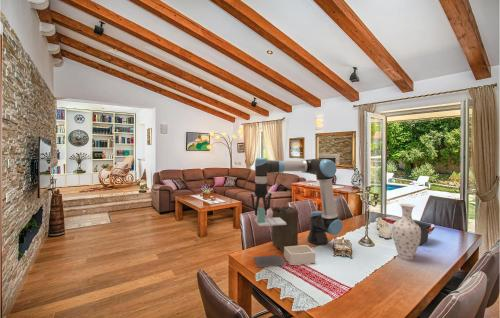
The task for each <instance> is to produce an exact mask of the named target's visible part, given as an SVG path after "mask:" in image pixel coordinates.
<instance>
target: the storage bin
mask: <svg viewBox="0 0 500 318" xmlns="http://www.w3.org/2000/svg"><path fill="white" fill-rule="evenodd" d="M413 221H414V222H415V223H416V224H417V225H419V227H420V228H421V239H420V243H419V246H421V245H422V244H424V243H427V242H428V240H429V239H428V238H429V235H430V234H432V226H433V224H432V223H429V222H425V221H420V220H413Z"/></svg>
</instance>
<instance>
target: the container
mask: <svg viewBox="0 0 500 318" xmlns="http://www.w3.org/2000/svg"><path fill="white" fill-rule="evenodd" d="M272 211H273V212H272V218H277V217H280V218H281V219H282V220H283V221H284V222H286V225H274V226H271V228H272V231H271V238H272V241H271V242H272V245H273V246H275V247H277V248H278V249H279V250H280V251H282V253H283V254H284V247H287V246H299V245H298V243H299V241H298V238H299V237H298V236H299V233H298V230H299V229H298V227H299V225H298V224H299V210H298V209H297V208H295V207H291V206H288V205H287V206H282V207H281V206H275V207H274V206H273V207H272Z"/></svg>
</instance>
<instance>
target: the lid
mask: <svg viewBox="0 0 500 318" xmlns="http://www.w3.org/2000/svg"><path fill="white" fill-rule="evenodd" d="M257 210H258V211H259V217H258V221H257V220H256V218H254V221H255V223H256V224H257V225H258V227H269V226H270V227H272V226H274V225H286V222H284V221H283V220H282V219H281V218H280V217H277V218H272V217H266V215H265V209H264V206H261V207H259V206H258V209H257Z"/></svg>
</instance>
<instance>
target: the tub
mask: <svg viewBox="0 0 500 318" xmlns="http://www.w3.org/2000/svg"><path fill="white" fill-rule="evenodd" d="M301 252H304V253H301ZM283 258H284V259H285V261H286V262H287V261H288V262H289V263H288V262H287V263H288V265H289V266H290V265H294V266H299V265H298V264H305V265H309V264H308V263H315V264H316V252H315V251H314V249H312V248H311V247H310V246H309V245H307V244H303V245H301V244H300V245H297V246H287V247H284V253H283Z"/></svg>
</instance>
